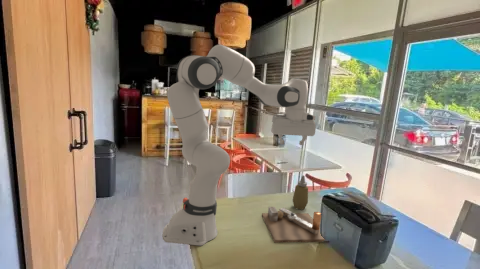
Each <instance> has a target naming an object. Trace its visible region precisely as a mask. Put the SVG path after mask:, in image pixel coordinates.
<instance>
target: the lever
mask: <svg viewBox="0 0 480 269" xmlns="http://www.w3.org/2000/svg"><path fill="white" fill-rule="evenodd" d="M278 211H281V212H282V213H283V217H285V218H287V219H288V221H290V222H294V223H296V224H298V225H299V226H301V227H303V228H305V229H306V230H308V231H310V232H312V233H314V234H317V233H319V229H320V228H321V223H322V222H321V221H322V215H321V214H322V213H321V212H320V211H314V212H313V217H312V219H313V223H312V224H310V223H308V222H306V221H304V220H303V219H301V218H299V217H297V214H295V212H292V211H291V210H289V209H287V208H286V207H281V208H280V209H279V210H278Z"/></svg>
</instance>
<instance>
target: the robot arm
mask: <svg viewBox="0 0 480 269" xmlns="http://www.w3.org/2000/svg"><path fill="white" fill-rule="evenodd" d="M255 73H256V67H255V64H254V62H252V60H250V59H249V58H248V57H246V56H245V55H243V54H242V53H240V52H238V51H236V50H235V49H233V48H231V47H228V46H226V45H223V44H216V45H214V46H213V47H212V48H211V49H210V50H209V52H208V54H207V55H206V56H202V55H196V54H194V55H186V56H184V57H183V58H181V59H180V60H179V62H178V64H177V67H176V77H175V82H176V83H173V84H172V85H170V86H169V88H168V89H167V92H166V95H167V101H168V105H169V108H170V112H171V115H172V117H173V119H174V121H175V124H176V126H177V129H178V132H179V135H180V138H181V141H182V147H181V154H182V156H183V158H184V159H185V160H186V161H187V162H188V163H189V164H191V166H194V167H195V169H196V172H195V175H194V178H192V179H191V180H190V181H189V185H188V186H189V187H188V188H189V189H188V198H187V197H184V198H183V199H182V203H183V207H182V208H181V209H180V210H178V211H176V212H175V213H173V214H172V216H171V217H170V219H169V222H168V223H166V225H165V226H164V228H163V230H162V235H161V236H162V240H163V242H164V243H170V244H178V245H179V244H180V245H181V244H182V245H187V246H189V245H190V246H204V245H205V244H206V243H207V242H209V241H211V240H213V239H215V238H216V237H217V236H218V228H217V223H216V222H217V221H216V215H217V211H218V210H217V207H218V204H217V189H218V183H219V180H220V178H221V176H222V175H223V174H224V173H225V172H226V171H228V169H229V167H230V164H231V157H230V155H229V153H228V152H227V151H226V150H225V149H224V148H222V147H221V146H219V145H216V144H214V143H212V142H210V140H209V139H208V134H207V132H208V129H209V122H208V120H207V117H206V115H205V111H204V109H203V106H202V104H201V101H200V95H199V92H200V90H207V89H210V88H212V87H214V86H215V85H216V84H217V83H218V81H219V79H220V78H223V79H224V80H226V81H228V82H230V83H231V84H234V85H235V86H239V87H243V88H244V89H246V90H247V91H249V92H250V93H252V94H253V95H255V97H256V98H258V100H259V102H260V103H261V104H262V105H264V106H272V107H277V108H278V107H279V108H285V112H284V113H275V114H274V115H273V116H272V118H271V119H272V120H271V122H272V124H271V129H270V131H271V133H272V134H273V135H278V138H279V144H280V145H285V140H284V139H283V136H302V139H301V140H299V143H298V144H299V145H300V146H304V143H305V141H306V140H307V138H308V137H314V136H315V135H316V128H317V126H316V122H315V120H316V116H315V115H314V114H312V113H309V112H306V109H307V108H306V107H307V106H306V103H307V100H308V87H309V86H308V85H309V84H308V82H307V81H306V80H305V79H303V78H299V77H292V78H290V80H288V81H287V82H285V83H282V84H276V83H275V84H272V83H264V82H262V81H261V80H260V79H258V78H257V77H255Z"/></svg>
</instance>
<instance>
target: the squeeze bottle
mask: <svg viewBox="0 0 480 269" xmlns="http://www.w3.org/2000/svg"><path fill="white" fill-rule="evenodd" d="M305 178H306V177H305V175H303V174H302V175H301V179H300V180H298V181H297V184H296V185H295V187H294V193H293V196H292V197H293V198H292V204H293V207H294V208H295V209H296V210H302V211H303V210H305V209H306V207H307V206H308V203H309V187H308V182H306V179H305Z"/></svg>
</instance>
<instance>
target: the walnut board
mask: <svg viewBox="0 0 480 269" xmlns="http://www.w3.org/2000/svg"><path fill="white" fill-rule="evenodd" d="M267 208H268V209H267V212H262V213H261V217H262V218H263V221H264V223H265V225H266V227H267V229H268V231H269V234H270V236H271V237H272V238H271V239H272V240H273V243H275V244H279V243H282V244H283V243H286V244H287V243H323V242H322V241H324V240H325V239H324V238H323V237H322V236H321V234H320V229H319V233H317V234H314V233H312V232H310V231H308V230H306V229H305V228H303V227H301V226H299V225H298V224H296V223H294V222H290V221H288V219H287V218H285V217H282V218H281V219H278V212H277V211H278V210H277V208H276V207H275V206H268V207H267ZM294 213H295V212H294ZM295 214H297V217H299V218H301V219H303V220H304V221H306V222H308V223H310V224H312V223H313V217H312V216H311V215H310V214H309V213H303V212H299V213H298V212H297V213H295Z"/></svg>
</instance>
